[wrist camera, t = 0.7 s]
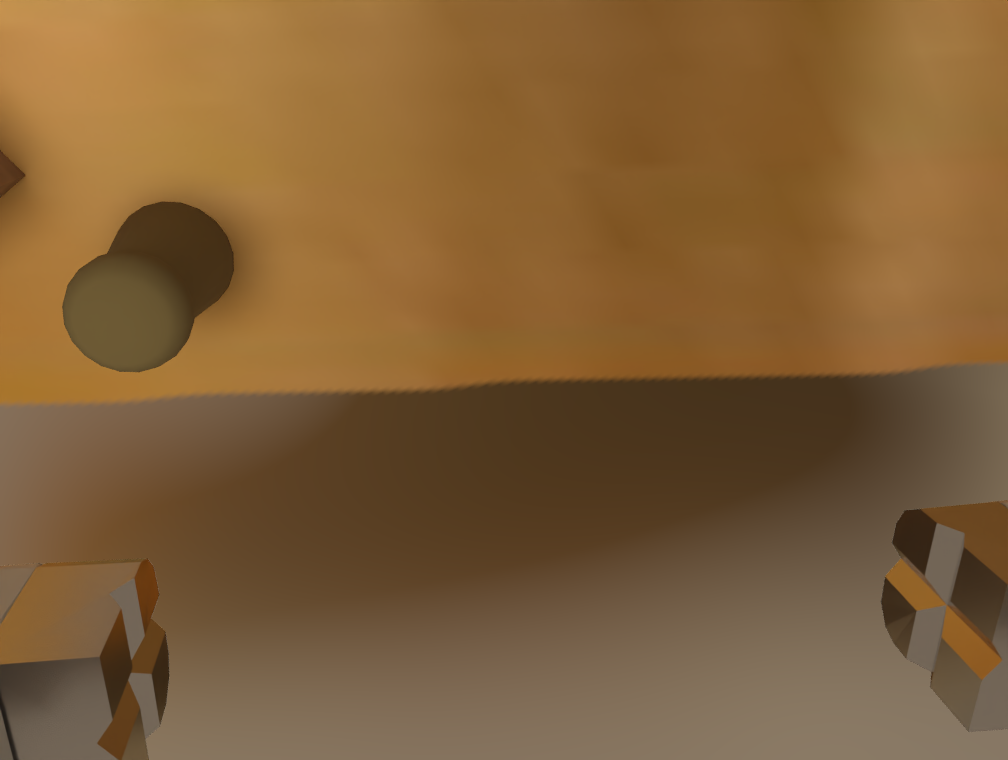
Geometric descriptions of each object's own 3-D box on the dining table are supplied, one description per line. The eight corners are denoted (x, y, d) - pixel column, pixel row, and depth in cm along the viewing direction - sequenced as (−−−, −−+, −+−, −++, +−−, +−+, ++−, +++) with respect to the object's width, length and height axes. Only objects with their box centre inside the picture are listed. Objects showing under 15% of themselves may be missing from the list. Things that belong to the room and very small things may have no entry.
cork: (197, 182, 45) (146, 228, 35) (254, 286, 47) (223, 357, 37) (90, 230, 45) (8, 290, 35) (153, 331, 47) (94, 414, 37)
